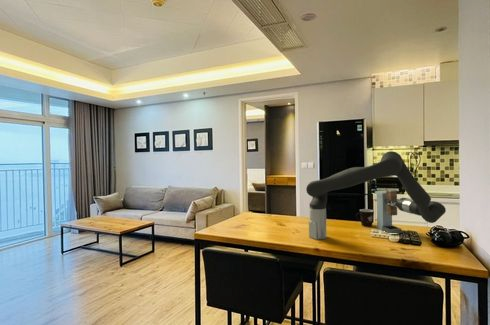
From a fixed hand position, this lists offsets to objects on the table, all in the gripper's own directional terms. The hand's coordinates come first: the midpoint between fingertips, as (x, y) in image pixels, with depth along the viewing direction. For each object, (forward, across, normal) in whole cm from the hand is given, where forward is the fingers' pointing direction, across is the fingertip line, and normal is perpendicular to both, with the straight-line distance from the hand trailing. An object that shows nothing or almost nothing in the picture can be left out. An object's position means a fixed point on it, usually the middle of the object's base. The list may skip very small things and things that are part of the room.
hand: (388, 200), depth 162 cm
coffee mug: (+15, +7, +19) cm, 25 cm away
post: (+5, 0, +19) cm, 19 cm away
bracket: (-3, 0, +19) cm, 19 cm away
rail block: (-3, 0, +8) cm, 8 cm away
